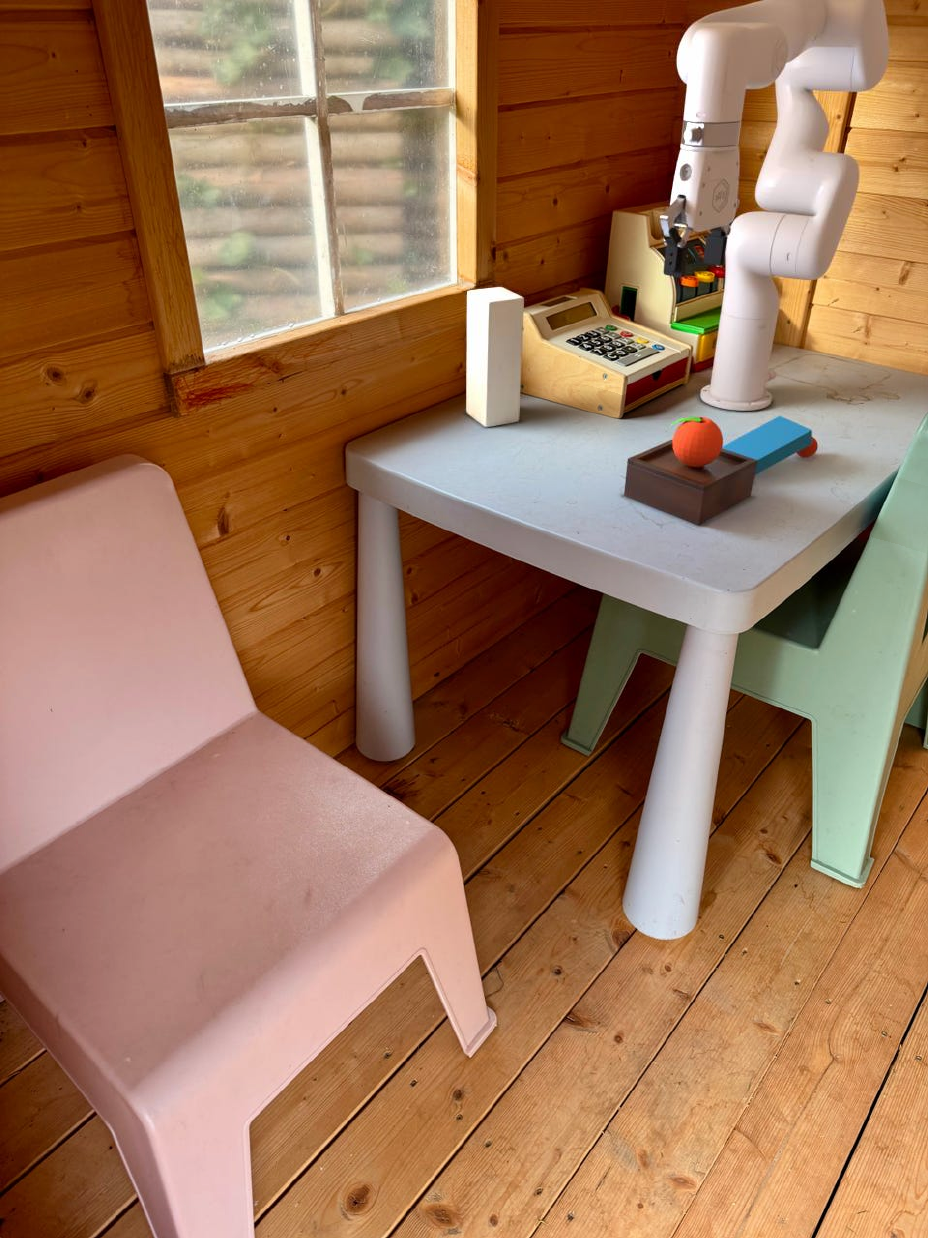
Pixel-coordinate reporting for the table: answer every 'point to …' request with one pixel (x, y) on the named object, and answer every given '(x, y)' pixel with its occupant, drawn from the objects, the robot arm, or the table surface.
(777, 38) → the robot arm
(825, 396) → the table surface
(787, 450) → the lever
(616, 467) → the table surface
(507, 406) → the tall white pillar block
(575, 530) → the table surface
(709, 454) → the clementine
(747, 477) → the tray
